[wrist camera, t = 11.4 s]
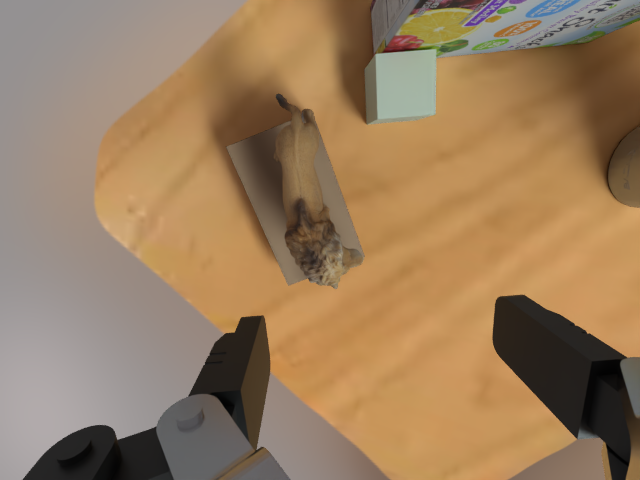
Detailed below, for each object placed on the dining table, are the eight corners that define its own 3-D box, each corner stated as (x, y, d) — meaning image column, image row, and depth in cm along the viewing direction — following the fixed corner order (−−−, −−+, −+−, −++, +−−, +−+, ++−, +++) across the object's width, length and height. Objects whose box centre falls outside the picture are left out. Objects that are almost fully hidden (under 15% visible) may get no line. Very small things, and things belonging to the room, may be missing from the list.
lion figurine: (354, 246, 30) (374, 284, 21) (301, 262, 30) (300, 307, 22) (306, 85, 26) (308, 53, 17) (246, 106, 26) (218, 83, 18)
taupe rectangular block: (310, 118, 32) (312, 111, 27) (356, 242, 35) (364, 256, 30) (237, 147, 32) (225, 146, 27) (290, 267, 36) (288, 285, 31)
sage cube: (415, 65, 30) (436, 49, 26) (415, 120, 32) (435, 114, 27) (364, 69, 30) (375, 53, 25) (366, 124, 32) (377, 119, 27)
